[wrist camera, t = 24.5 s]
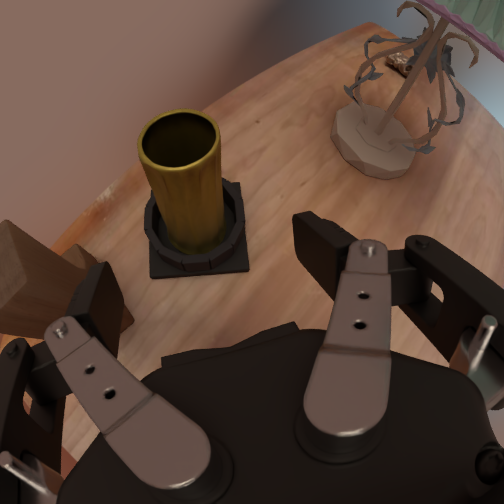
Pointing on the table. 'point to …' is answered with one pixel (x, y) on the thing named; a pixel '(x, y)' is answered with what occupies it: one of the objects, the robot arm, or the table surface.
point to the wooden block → (38, 283)
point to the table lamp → (425, 54)
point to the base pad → (214, 262)
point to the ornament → (400, 63)
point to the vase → (186, 177)
